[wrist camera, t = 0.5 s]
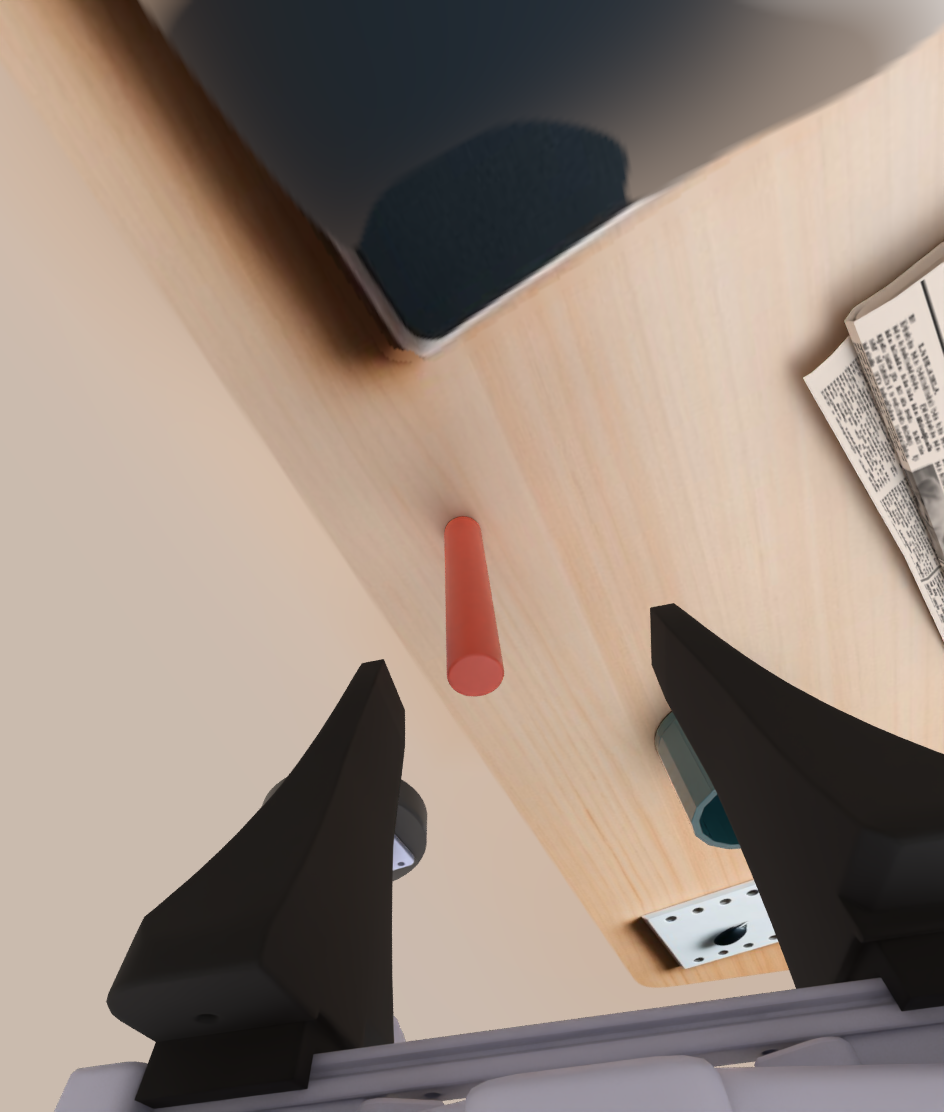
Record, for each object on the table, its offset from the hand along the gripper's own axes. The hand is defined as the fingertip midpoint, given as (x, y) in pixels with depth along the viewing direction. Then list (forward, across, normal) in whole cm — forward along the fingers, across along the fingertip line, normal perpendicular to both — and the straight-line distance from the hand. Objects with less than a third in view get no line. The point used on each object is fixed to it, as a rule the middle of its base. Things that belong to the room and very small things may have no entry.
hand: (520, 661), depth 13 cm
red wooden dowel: (+9, +2, +1) cm, 9 cm away
